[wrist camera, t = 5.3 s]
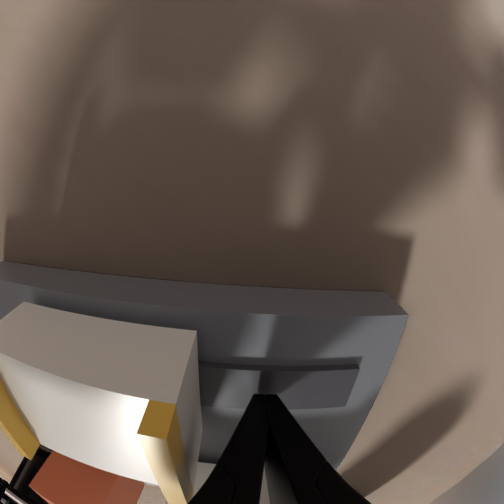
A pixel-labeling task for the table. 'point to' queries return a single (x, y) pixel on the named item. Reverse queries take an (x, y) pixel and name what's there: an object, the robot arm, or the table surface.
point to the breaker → (103, 394)
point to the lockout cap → (82, 483)
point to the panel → (246, 343)
